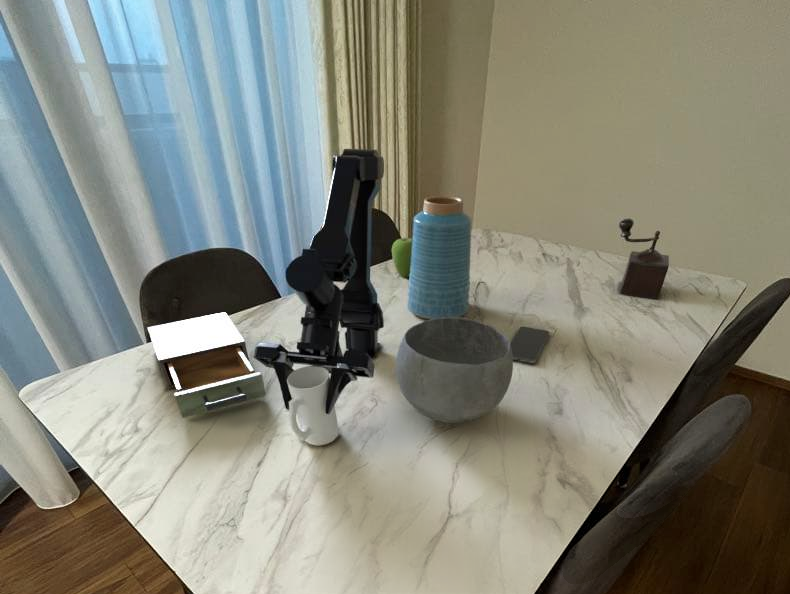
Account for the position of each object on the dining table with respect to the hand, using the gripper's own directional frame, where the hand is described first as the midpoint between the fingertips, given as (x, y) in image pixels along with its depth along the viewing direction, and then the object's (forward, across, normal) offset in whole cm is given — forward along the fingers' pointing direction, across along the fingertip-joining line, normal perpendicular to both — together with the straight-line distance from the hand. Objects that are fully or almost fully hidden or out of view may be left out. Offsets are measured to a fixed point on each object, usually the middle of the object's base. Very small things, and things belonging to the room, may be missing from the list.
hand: (307, 411), depth 76 cm
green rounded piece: (-56, -1, -66) cm, 86 cm away
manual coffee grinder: (-57, -68, -67) cm, 111 cm away
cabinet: (-12, +33, -22) cm, 42 cm away
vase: (-39, -14, -49) cm, 64 cm away
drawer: (-4, +23, -13) cm, 27 cm away
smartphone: (-27, -37, -36) cm, 58 cm away
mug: (+4, 0, -7) cm, 8 cm away
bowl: (-6, -22, -16) cm, 28 cm away
